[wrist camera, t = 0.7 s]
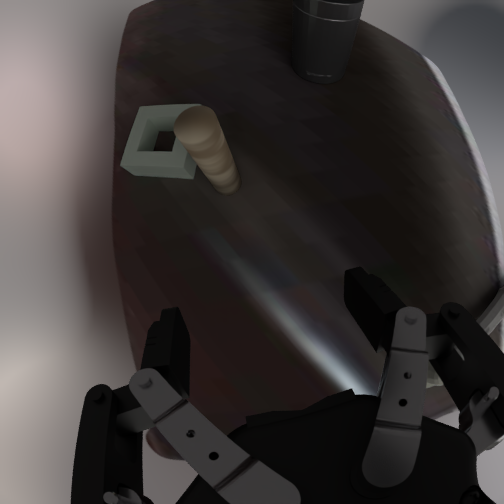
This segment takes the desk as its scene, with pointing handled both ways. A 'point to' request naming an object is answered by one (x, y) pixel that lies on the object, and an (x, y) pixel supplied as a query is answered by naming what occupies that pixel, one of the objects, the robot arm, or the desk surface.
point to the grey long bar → (488, 321)
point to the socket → (143, 142)
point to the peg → (208, 147)
